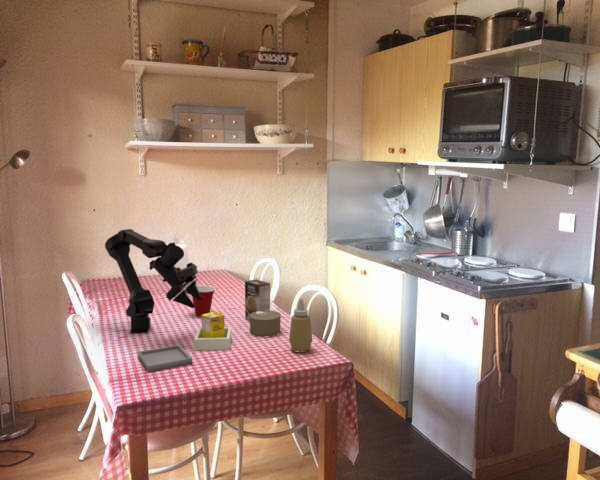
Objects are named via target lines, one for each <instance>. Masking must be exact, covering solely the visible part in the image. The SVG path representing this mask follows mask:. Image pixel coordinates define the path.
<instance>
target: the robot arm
mask: <svg viewBox="0 0 600 480" xmlns="http://www.w3.org/2000/svg"><path fill="white" fill-rule="evenodd" d="M131 245H132V246H134V247H136V248H138V249H139V250H141V252H142V255H144V256H145V257H146V258H148V259H153V258H156V259H153V260H151V261H150V262H149V270H150V271H151V270H153V269H154V270H155V271H156V272H157V273H158V274H159V275H160V276H161V277H162V278H163V279H162V281H163V282H164V283H167V284H168V285H169V286H170V287H171V288H170V289H169V291H168V292H166V296H165V297H166V299H167V300H168V301H169V302H170V301H172V302H176V303H179V304H181V305H184V306H186V307H189V308H191V309H195V308H194V307H195V305H194V303H193V300H192V299H191V298H190V296H191V297H192V296H193V297H195V298H196V299H198V300H202V297H201V295H200V293H199V291H198V289H197V286H196V285H197V281H198V280H197V275H196V274H198V273H199V271H198V269H197V268H198V266H197V265H196V264H195V263H193V262H188V264H187V268H184V269H182V270H181V269H180V268H178V267H177V268H176V267H175V266H174V265H175V264H176V263H178V262H179V261H180V260H181V259H182V258H183V256H184V251H183V249H181V248H180V247H179V246H177V245H175V243H174V242H169V243H168V244H167V243H165V241H164V240H160V239H151V238H149V237H146V236H144V235H142V234H141V233H138V232H136V231H134V229H131V228H126V229H121V230H119V231H118V232H117V233H116V234H113V235H112V236H111V237H109V238H107V240H106V241H105V242H104V248H105V250H106V252H107V254H108V255H109V257H111V258H112V259H114V261H116V263H117V265H118V268H119V270H120V272H121V275H122V278H123V280H124V282H125V284H126V287H127V289H128V291H129V298H128V303H129V305H128V307H127V308H126V310H125V315H126V317H128V318H130V331H129V333H130V334H131V333H135V334H137V333H148V332H149V331H150V329H151V328H152V325H151V324H152V323H151V317H150V314H153V313H154V308H155V300H154V297H153V295H152V293H151V290H150V289H145V288H144V287H143V285H142V283H141V281H140V279H139V277H138V274H137V272H136V269H135V267H134V264H133V263H132V259H131V258H130V253H131V252H130V251H131ZM184 288H185V290H184ZM187 293H188V294H187ZM189 295H190V296H189Z"/></svg>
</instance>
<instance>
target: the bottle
mask: <svg viewBox="0 0 600 480" xmlns="http://www.w3.org/2000/svg"><path fill="white" fill-rule="evenodd" d="M173 243H175V245H177V246H179V247H180V248H181V249H183V251H184V256H183V258H182V259H181V260H180V261H179V262H178V263H176V264H175V265H174V266H175V267H176V268H177V267H178V268H180V269H181V270H182V269H184V268H187V264H188V263H189V249H188V248H189V247H188V245H187V244H186V243H185V236H182V235H177V236H173ZM184 290H185V288H184ZM187 295H189V294H188V293H187Z"/></svg>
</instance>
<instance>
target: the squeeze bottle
mask: <svg viewBox="0 0 600 480" xmlns="http://www.w3.org/2000/svg"><path fill="white" fill-rule="evenodd" d="M308 311H309V310H308V309H307V308H305V305H304V299H301V298H299V300H298V303H297V308H295V309H294V310H293V313H294V314H293V315H292V316H291V318H290V319H291V320H290V328H289V336H288V337H289V339H288V341H289V344H290V346H291V349H292V351H293V350H294V351H293V352H295V351H299V352H298V353H302V352H301V351H307V350H309V351H310V348H311V346H312V343H313V332H312V331H313V330H312V323H311V317H310V315H309V314H308V313H309V312H308ZM307 352H308V351H307Z"/></svg>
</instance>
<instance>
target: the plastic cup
mask: <svg viewBox="0 0 600 480" xmlns="http://www.w3.org/2000/svg"><path fill="white" fill-rule="evenodd" d="M196 286H197V289H198V291H199V293H200V295H201V297H202V300H198V299H196V298H195V297H193V296H191V298H192V299H191V300H192V302H193V303H194V305H195V307H194V308H193V309H194V313H195V316H197V317H199V318H200V317H201V318H202V316H201V315H202V314H207V313H211V307H212V302H213V296H214V294H215V293H214V292H215V291H216V287H215V286H211V285H200V284H198V285H197V284H196Z"/></svg>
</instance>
